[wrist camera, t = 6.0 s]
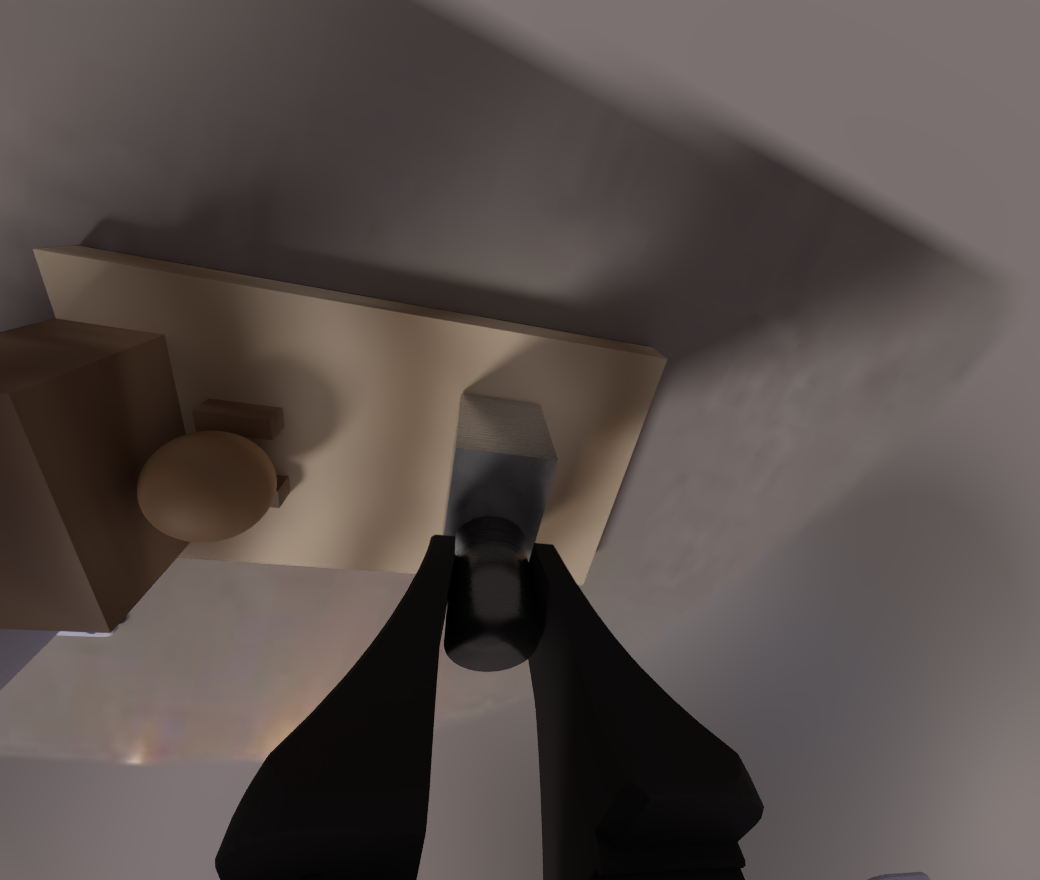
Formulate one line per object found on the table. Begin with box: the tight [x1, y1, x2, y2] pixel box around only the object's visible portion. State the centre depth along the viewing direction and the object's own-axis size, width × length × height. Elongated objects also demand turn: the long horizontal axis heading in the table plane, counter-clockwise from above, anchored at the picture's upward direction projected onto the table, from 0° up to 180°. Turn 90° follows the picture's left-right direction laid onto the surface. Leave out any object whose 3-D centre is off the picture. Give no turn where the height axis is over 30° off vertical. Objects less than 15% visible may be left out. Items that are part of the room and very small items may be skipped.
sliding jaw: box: [442, 393, 558, 672], centre depth 14 cm, size 3×7×8 cm, turn 169°
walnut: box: [137, 431, 277, 543], centre depth 13 cm, size 4×4×4 cm
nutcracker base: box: [0, 245, 668, 633], centre depth 15 cm, size 20×12×6 cm, turn 79°
